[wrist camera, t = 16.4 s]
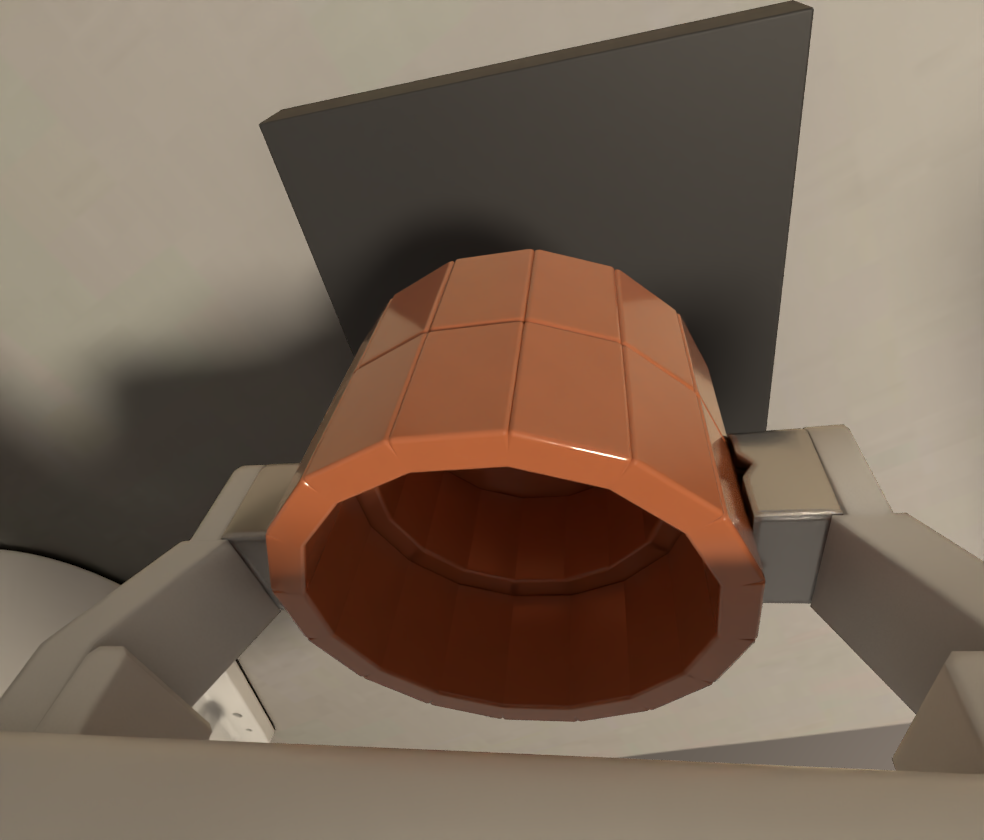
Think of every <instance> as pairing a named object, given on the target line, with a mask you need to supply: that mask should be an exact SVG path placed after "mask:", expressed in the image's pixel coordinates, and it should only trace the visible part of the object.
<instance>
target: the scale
mask: <svg viewBox="0 0 984 840" xmlns="http://www.w3.org/2000/svg"><path fill="white" fill-rule="evenodd" d="M813 12H814V9H813V8H812V7H810V6H807V5H804V4H802V3H799V2H796V1H793V0H792V1H787V2H783V3H778V4H773V5H769V6H764V7H759V8H755V9H750V10H745V11H741V12H736V13H731V14H727V15H722V16H717V17H713V18H708V19H703V20H699V21H694V22H689V23H685V24H680V25H675V26H671V27H666V28H661V29H657V30H652V31H647V32H643V33H638V34H633V35H629V36H624V37H619V38H615V39H610V40H605V41H601V42H596V43H591V44H587V45H582V46H577V47H573V48H568V49H563V50H559V51H554V52H549V53H544V54H540V55H535V56H530V57H526V58H521V59H516V60H512V61H507V62H502V63H498V64H493V65H488V66H484V67H479V68H474V69H470V70H465V71H460V72H456V73H451V74H446V75H442V76H437V77H432V78H428V79H423V80H418V81H414V82H409V83H404V84H400V85H395V86H390V87H386V88H381V89H376V90H372V91H367V92H362V93H358V94H353V95H348V96H344V97H339V98H334V99H330V100H325V101H320V102H316V103H311V104H306V105H302V106H297V107H292V108H288V109H283V110H280V111H279V112H277V113H276V114H274V115H273V116H271V117H269V118H268V119H266V120H265V121H263V122H262V123H260V124H259V126H260V129H261V131H262V133H263V136H264V138H265V141H266V143H267V146H268V148H269V151H270V153H271V155H272V158H273V160H274V163H275V165H276V168H277V170H278V172H279V175H280V177H281V180H282V182H283V185H284V187H285V190H286V192H287V194H288V197H289V199H290V202H291V204H292V207H293V209H294V212H295V214H296V216H297V219H298V221H299V224H300V226H301V229H302V231H303V233H304V236H305V238H306V241H307V243H308V246H309V248H310V251H311V253H312V255H313V258H314V260H315V263H316V265H317V268H318V270H319V272H320V275H321V277H322V280H323V282H324V285H325V287H326V290H327V292H328V294H329V297H330V299H331V302H332V304H333V307H334V309H335V311H336V314H337V316H338V319H339V321H340V324H341V326H342V329H343V331H344V333H345V336H346V338H347V341H348V343H349V346H350V348H351V350H352V353H353V355H354V358H355V356H356V354H357V352H358V350H359V348H360V346H361V344H362V343H363V341H364V339H365V338H366V336H367V335H368V333H369V331H370V330H371V328H372V327H373V325H374V324H375V322H376V320H377V319H378V317H379V316H380V314H381V312H382V311H383V309H384V308H385V306H386V304H387V303H388V301H389V300H390V299H392V298H393V296H394V295H395V294H397V293H398V292H400V291H402V290H403V289H405V288H407V287H408V286H410V285H412V284H413V283H415V282H417V281H418V280H420V279H422V278H423V277H425V276H427V275H428V274H430V273H432V272H433V271H435V270H437V269H438V268H440V267H441V266H443V265H445V264H446V263H448V262H450V261H455V260H457V259H461V258H468V257H475V256H482V255H489V254H496V253H504V252H511V251H518V250H525V249H533V250H534V252H535V250H539V249H540V250H544V251H548V252H552V253H557V254H561V255H565V256H569V257H574V258H578V259H582V260H586V261H590V262H595V263H599V264H603V265H607V266H611V267H613V268H614V269H615V270H616V269H618V270H621V271H622V272H623V273H625V274H626V275H628V276H629V277H630V278H632V279H633V280H634V281H636V282H637V283H639V284H640V285H641V286H643V287H644V288H645V289H647V290H648V291H650V292H651V293H652V294H654V295H655V296H657V297H658V298H659V299H661V300H662V301H663V302H665V303H666V304H668V305H669V306H670V307H672V308H673V309H674V310H676V312H677V313H678V314H679V315H680V316H681V317H682V319H683V321H684V323H685V325H686V327H687V329H688V331H689V333H690V334H691V336H692V338H693V340H694V342H695V344H696V346H697V348H698V350H699V352H700V353H701V355H702V357H703V359H704V361H705V363H706V365H707V367H708V370H709V373H710V377H711V381H712V384H713V388H714V392H715V395H716V399H717V403H718V406H719V410H720V414H721V417H722V421H723V424H724V428H725V432H726V435H727V434H731V433H744V432H757V431H766V427H767V418H768V409H769V400H770V391H771V383H772V374H773V365H774V356H775V347H776V338H777V330H778V321H779V312H780V303H781V294H782V285H783V277H784V268H785V259H786V250H787V241H788V232H789V224H790V215H791V206H792V197H793V188H794V179H795V171H796V162H797V153H798V144H799V135H800V126H801V118H802V109H803V100H804V91H805V82H806V73H807V65H808V56H809V47H810V38H811V29H812V20H813Z"/></svg>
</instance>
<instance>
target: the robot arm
mask: <svg viewBox="0 0 984 840" xmlns="http://www.w3.org/2000/svg"><path fill="white" fill-rule="evenodd" d="M727 439H728V443H729V446H730V453H731V454H732V457H733V461H734V465H735V468H736V472H737V476H738V479H739V483H740V487H741V490H742V494H743V498H744V501H745V505H746V508H747V512H748V516H749V519H750V523H751V527H752V530H753V534H754V538H755V541H756V545H757V549H758V552H759V556H760V560H761V563H762V567H763V571H764V574H765V575H764V576H765V579H766V584H765V591H764V597H763V603H811V607H812V608H813V609H814V611H815V612H816V613H817V614H818V615H819V616H820V617H821V618H822V619H823V620H824V621H825V622H826V623H827V624H828V625H829V626H830V627H831V628H832V629H833V630H834V631H835V632H836V633H837V634H838V635H839V636H840V637H841V638H842V639H843V640H844V641H845V642H846V643H847V644H848V645H849V646H850V647H851V648H852V649H853V650H854V651H855V652H856V653H857V655H858V656H859V657H860V658H861V659H862V660H863V661H864V662H865V663H866V664H867V665H868V666H869V667H870V668H871V669H872V670H873V671H874V672H875V673H876V674H877V675H878V676H879V677H880V678H881V679H882V680H883V681H884V682H885V683H886V684H887V685H888V686H889V687H890V688H891V689H892V690H893V691H894V692H895V693H896V694H897V695H898V696H899V697H900V698H901V700H902V701H903V702H904V703H905V704H906V705H907V706H908V707H909V708H910V709H911V710H912V711H913V712H914V713H915V714H916V716H915V718H914V720H913V721H912V723H911V725H910V727H909V729H908V731H907V732H906V734H905V736H904V738H903V739H902V741H901V743H900V745H899V747H898V749H897V751H896V753H895V754H894V756H893V758H892V761H893V764H894V767H895V769H896V771H893V770H872V769H848V768H825V767H803V766H781V765H759V764H737V763H715V762H693V761H692V762H691V761H670V760H647V759H624V758H603V757H581V756H558V755H535V754H513V753H490V752H467V751H445V750H422V749H399V748H377V747H354V746H331V745H308V744H286V743H270V741H271V739H272V737H273V735H274V733H275V731H274V728H273V726H272V724H271V723H270V721H269V719H268V717H267V715H266V714H265V712H264V710H263V708H262V707H261V705H260V703H259V701H258V699H257V698H256V696H255V694H254V692H253V691H252V689H251V687H250V685H249V683H248V682H247V680H246V678H245V676H244V675H243V673H242V671H241V669H240V667H239V666H238V664H237V662H236V659H237V658H238V657H239V656H240V655H241V654H242V653H243V652H244V650H245V649H246V648H247V647H248V646H249V645H250V644H251V643H252V642H253V641H254V640H255V639H256V638H257V636H258V635H259V634H260V633H261V632H262V631H263V630H264V629H265V628H266V627H267V626H268V625H269V624H270V622H271V621H272V620H273V619H274V618H275V617H276V616H277V615H278V614H279V613H280V609H284V607H283V606H282V605H281V603H280V602H279V601H278V599H277V598H276V596H275V595H274V594H273V592H272V589H271V588H270V578H269V568H268V558H267V548H266V538H265V534H266V532H267V527H268V525H269V523H270V521H271V519H272V517H273V515H274V513H275V511H276V510H277V508H278V506H279V504H280V502H281V500H282V498H283V496H284V494H285V492H286V490H287V488H288V486H289V484H290V482H291V480H292V478H293V476H294V474H295V472H296V471H297V469H298V467H299V465H300V463H281V464H268V465H248V466H242V467H240V468H238V469H236V470H235V471H234V472H233V473H232V475H231V477H230V478H229V480H228V481H227V483H226V485H225V486H224V488H223V489H222V491H221V492H220V494H219V496H218V497H217V499H216V500H215V502H214V503H213V505H212V507H211V508H210V510H209V511H208V513H207V515H206V516H205V518H204V519H203V521H202V522H201V524H200V526H199V527H198V529H197V530H196V532H195V533H194V535H193V537H192V538H191V540H190V541H181V542H180V543H179V544H177V545H176V546H174V547H173V548H172V549H170V550H169V551H168V552H166V553H165V554H163V555H162V556H161V557H159V558H158V559H156V560H155V561H154V562H152V563H151V564H150V565H148V566H147V567H145V568H144V569H143V570H141V571H140V572H139V573H137V574H136V575H134V576H133V577H132V578H130V579H129V580H128V581H126V582H125V583H123V584H122V585H119V584H117V583H115V582H113V581H111V580H109V579H107V578H105V577H102V576H100V575H97V574H95V573H93V572H90V571H87V570H85V569H82V568H79V567H77V566H74V565H71V564H68V563H64V562H61V561H58V560H54V559H51V558H47V557H43V556H39V555H34V554H29V553H24V552H18V551H11V550H2V549H0V840H984V561H982V560H980V559H979V558H977V557H976V556H974V555H972V554H971V553H969V552H968V551H966V550H965V549H963V548H961V547H960V546H958V545H957V544H955V543H953V542H952V541H950V540H949V539H947V538H946V537H944V536H942V535H941V534H939V533H938V532H936V531H934V530H933V529H931V528H930V527H928V526H926V525H925V524H923V523H922V522H920V521H919V520H917V519H915V518H914V517H912V516H911V515H909V514H907V513H893V511H892V509H891V507H890V505H889V503H888V501H887V500H886V498H885V496H884V494H883V492H882V490H881V488H880V486H879V484H878V482H877V481H876V479H875V477H874V475H873V473H872V471H871V469H870V467H869V465H868V463H867V462H866V460H865V458H864V456H863V454H862V452H861V450H860V448H859V446H858V444H857V443H856V441H855V439H854V437H853V435H852V433H851V431H850V429H849V428H847V427H846V426H845V425H843V424H840V425H828V426H816V427H804V428H803V429H801V428H797V429H784V430H771V431H757V432H744V433H731V434H727Z"/></svg>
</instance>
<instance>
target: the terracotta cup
mask: <svg viewBox="0 0 984 840" xmlns="http://www.w3.org/2000/svg"><path fill="white" fill-rule="evenodd" d="M265 538H266V548H267V558H268V568H269V578H270V588H271V589H272V592H273V594H274V595H275V596H276V598H277V599H278V601H279V602H280V603H281V605H282V606H283V607H284V609H285V610H286V611H287V613H288V614H289V615H290V617H291V618H292V620H293V621H294V622H295V624H296V625H297V626H298V628H299V629H300V630H301V632H302V633H303V635H304V636H305V637H307V638H308V640H309V641H310V642H312V643H313V644H315V645H316V646H318V647H319V648H320V649H322V650H323V651H325V652H326V653H328V654H329V655H330V656H332V657H333V658H335V659H336V660H338V661H339V662H341V663H342V664H343V665H345V666H346V667H348V668H349V669H351V670H352V671H354V672H355V673H356V674H358V675H359V676H364V678H365V679H368V680H370V681H373V682H375V683H378V684H380V685H383V686H385V687H388V688H390V689H393V690H395V691H398V692H400V693H403V694H405V695H408V696H410V697H413V698H415V699H418V700H420V701H422V702H425V703H431V704H432V705H435V706H440V707H445V708H450V709H455V710H460V711H465V712H469V713H474V714H479V715H484V716H489V717H494V718H499V719H501V718H504V719H508V720H539V721H570V722H575V721H577V720H578V721H586V720H593V719H599V718H605V717H612V716H618V715H624V714H631V713H637V712H643V711H648V710H649V709H650V710H653V709H656V708H658V707H660V706H663V705H665V704H667V703H670V702H672V701H674V700H677V699H679V698H681V697H684V696H686V695H688V694H691V693H693V692H695V691H698V690H700V689H703V688H705V687H707V686H710V685H712V683H713V682H716V681H717V680H718V679H719V678H720V677H721V676H722V675H723V674H724V673H725V672H726V671H727V670H728V669H729V668H730V667H731V666H732V664H733V663H734V662H735V661H736V660H737V659H738V658H739V657H740V656H741V655H742V654H743V653H744V652H745V651H746V650H747V649H748V648H749V647H750V646H751V645H752V644H753V643H754V642H755V638H757V636H758V631H759V624H760V617H761V611H762V604H763V597H764V591H765V584H766V579H765V576H764V575H765V574H764V571H763V567H762V563H761V560H760V556H759V552H758V549H757V545H756V541H755V538H754V534H753V530H752V527H751V523H750V519H749V516H748V512H747V508H746V505H745V501H744V498H743V494H742V490H741V487H740V483H739V479H738V476H737V472H736V468H735V465H734V461H733V457H732V454H731V453H730V446H729V443H728V439H727V435H726V432H725V428H724V424H723V421H722V417H721V414H720V410H719V406H718V403H717V399H716V395H715V392H714V388H713V384H712V381H711V377H710V373H709V370H708V367H707V365H706V363H705V361H704V359H703V357H702V355H701V353H700V352H699V350H698V348H697V346H696V344H695V342H694V340H693V338H692V336H691V334H690V333H689V331H688V329H687V327H686V325H685V323H684V321H683V319H682V317H681V316H680V315H679V314H678V313H677V312H676V310H674V309H673V308H672V307H670V306H669V305H668V304H666V303H665V302H663V301H662V300H661V299H659V298H658V297H657V296H655V295H654V294H652V293H651V292H650V291H648V290H647V289H645V288H644V287H643V286H641V285H640V284H639V283H637V282H636V281H634V280H633V279H632V278H630V277H629V276H628V275H626V274H625V273H623V272H622V271H621V270H618V269H616V270H615V269H614V268H613V267H611V266H607V265H603V264H599V263H595V262H590V261H586V260H582V259H578V258H574V257H569V256H565V255H561V254H557V253H552V252H548V251H544V250H540V249H539V250H535V252H534V250H533V249H525V250H518V251H511V252H504V253H496V254H489V255H482V256H475V257H468V258H461V259H457V260H455V261H450V262H448V263H446V264H445V265H443V266H441V267H440V268H438V269H437V270H435V271H433V272H432V273H430V274H428V275H427V276H425V277H423V278H422V279H420V280H418V281H417V282H415V283H413V284H412V285H410V286H408V287H407V288H405V289H403V290H402V291H400V292H398V293H397V294H395V295H394V296H393V298H392V299H390V300H389V301H388V303H387V304H386V306H385V308H384V309H383V311H382V312H381V314H380V316H379V317H378V319H377V320H376V322H375V324H374V325H373V327H372V328H371V330H370V331H369V333H368V335H367V336H366V338H365V339H364V341H363V343H362V344H361V346H360V348H359V350H358V352H357V354H356V356H355V358H354V360H353V361H352V363H351V365H350V367H349V369H348V371H347V373H346V375H345V377H344V379H343V381H342V383H341V385H340V387H339V389H338V391H337V393H336V395H335V397H334V399H333V400H332V402H331V404H330V406H329V408H328V410H327V412H326V414H325V416H324V419H323V421H322V422H321V424H320V426H319V428H318V430H317V432H316V433H315V435H314V437H313V439H312V441H311V443H310V445H309V447H308V449H307V451H306V453H305V455H304V457H303V459H302V461H301V463H300V465H299V467H298V469H297V471H296V472H295V474H294V476H293V478H292V480H291V482H290V484H289V486H288V488H287V490H286V492H285V494H284V496H283V498H282V500H281V502H280V504H279V506H278V508H277V510H276V511H275V513H274V515H273V517H272V519H271V521H270V523H269V525H268V527H267V532H266V534H265Z"/></svg>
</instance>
